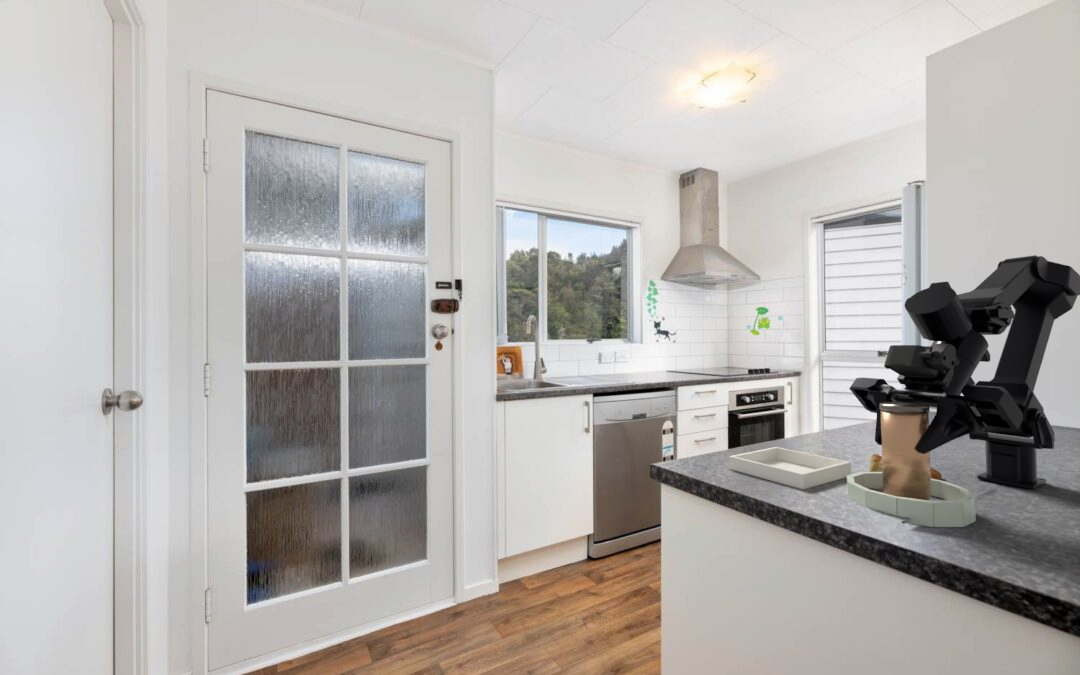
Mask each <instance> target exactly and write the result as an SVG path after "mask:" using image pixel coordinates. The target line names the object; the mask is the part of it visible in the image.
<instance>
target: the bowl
mask: <svg viewBox="0 0 1080 675" xmlns="http://www.w3.org/2000/svg"><path fill="white" fill-rule="evenodd" d="M873 489H883V478H882V472H869V471H859V472H855V473H851V475H847V477H846V492H847V499H849V500H852V502H855V503H857V504H859V505H861V506H862V507H865V508H867V509H871V510H875V511H878V512H880V513H881V512H882V513H886V514H889V515H893V516H897V517H901V518H902V517H903V518H907V519H905V520H902V521H901V523H903V524H909V525H910V524H911V525H917V526H923V527H931V528H965V527H967V526H969V525H970V524H971V525H972V523H973V524H974V522H976V521H977V518H976V514H977V513H976V497H975V495H974V494H973V493H971V492H970V490H969V489H968V488H965V487H962V486H959V485H956V484H953V483H951V482H948V481H944V480H942V481H941V480H936V479H931V497H934V498H940V499H941V500H939V499H938V500H934V499H933V500H930V499H929V500H921V499H914V498H906V497H898V496H894V495H890V494H886V493H884V492H880V491H877V490H873Z"/></svg>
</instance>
